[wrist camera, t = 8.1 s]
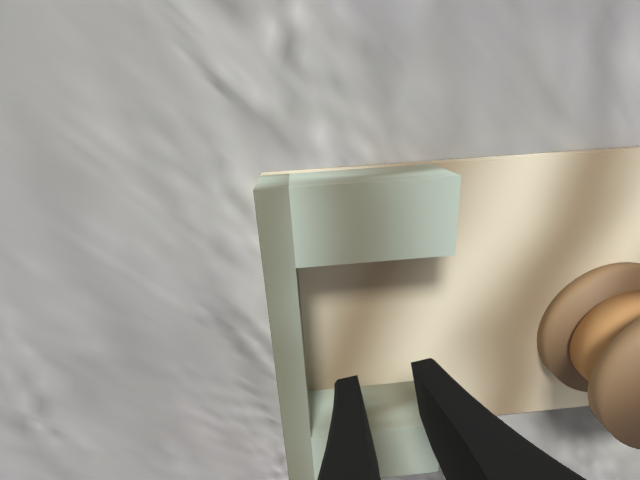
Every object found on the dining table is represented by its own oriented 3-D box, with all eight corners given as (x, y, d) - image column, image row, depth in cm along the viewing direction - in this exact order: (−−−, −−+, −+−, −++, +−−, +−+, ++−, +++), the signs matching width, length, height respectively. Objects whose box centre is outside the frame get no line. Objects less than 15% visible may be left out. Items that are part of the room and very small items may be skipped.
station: (832, 132, 14) (1043, 142, 10) (729, 381, 18) (849, 457, 14) (261, 172, 13) (248, 200, 9) (290, 425, 17) (289, 519, 13)
